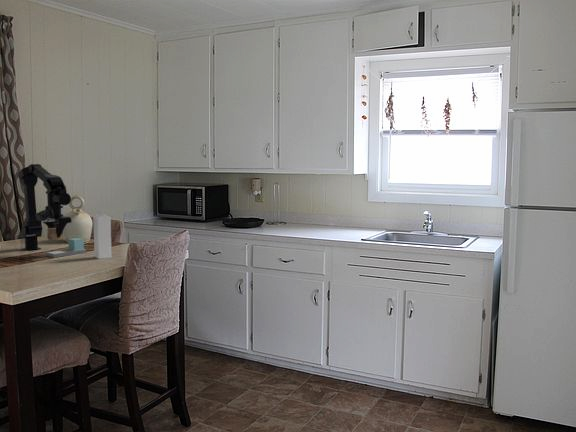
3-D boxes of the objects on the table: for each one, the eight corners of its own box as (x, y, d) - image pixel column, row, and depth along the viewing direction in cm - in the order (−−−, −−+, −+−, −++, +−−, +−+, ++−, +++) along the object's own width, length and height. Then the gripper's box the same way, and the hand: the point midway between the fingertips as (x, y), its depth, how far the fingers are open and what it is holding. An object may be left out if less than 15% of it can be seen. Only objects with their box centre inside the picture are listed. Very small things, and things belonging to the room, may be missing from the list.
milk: (98, 259, 261) (97, 211, 259) (94, 257, 266) (92, 210, 263) (111, 257, 265) (110, 210, 262) (107, 255, 270) (105, 209, 267)
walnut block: (47, 239, 267) (47, 228, 266) (57, 237, 271) (57, 227, 270) (53, 240, 264) (53, 229, 263) (63, 239, 268) (63, 228, 267)
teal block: (68, 249, 276) (68, 239, 275) (77, 248, 280) (77, 238, 279) (74, 250, 273) (74, 240, 272) (83, 249, 277) (83, 239, 276)
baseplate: (45, 255, 268) (45, 252, 268) (78, 250, 281) (78, 247, 281) (54, 257, 264) (53, 254, 264) (86, 252, 277) (86, 249, 277)
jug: (87, 243, 303) (85, 196, 300) (57, 243, 303) (56, 196, 300) (97, 239, 318) (95, 194, 315) (69, 238, 318) (67, 194, 315)
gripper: (27, 203, 265) (28, 236, 267) (48, 206, 254) (50, 241, 255) (49, 202, 274) (50, 234, 275) (71, 204, 262) (72, 238, 264)
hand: (55, 237), depth 267 cm, fingers closed on walnut block, 5 cm apart
